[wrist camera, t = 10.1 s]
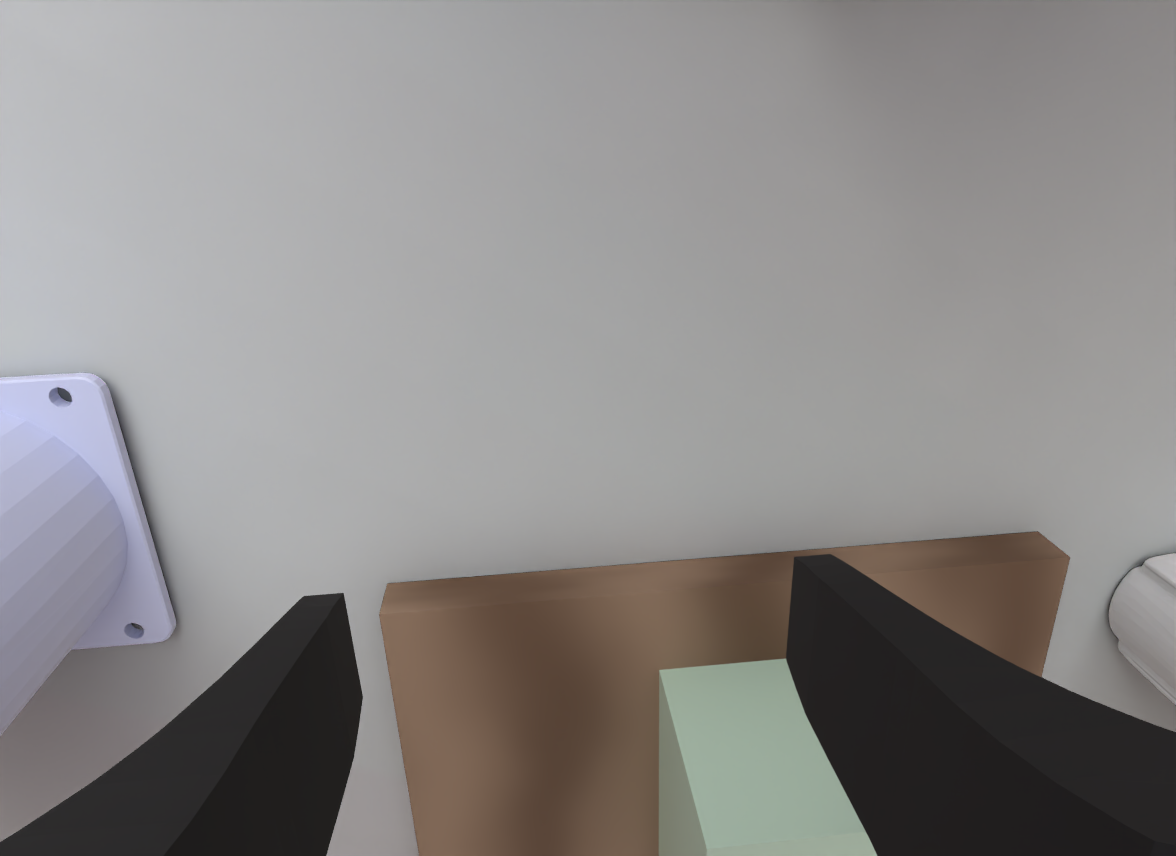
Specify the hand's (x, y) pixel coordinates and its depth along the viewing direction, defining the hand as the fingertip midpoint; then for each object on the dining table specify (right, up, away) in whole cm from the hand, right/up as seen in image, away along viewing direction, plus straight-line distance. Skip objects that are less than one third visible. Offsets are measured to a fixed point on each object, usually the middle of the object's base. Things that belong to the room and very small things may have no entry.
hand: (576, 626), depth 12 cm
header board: (+5, -7, +14) cm, 16 cm away
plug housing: (+5, -8, +12) cm, 15 cm away
